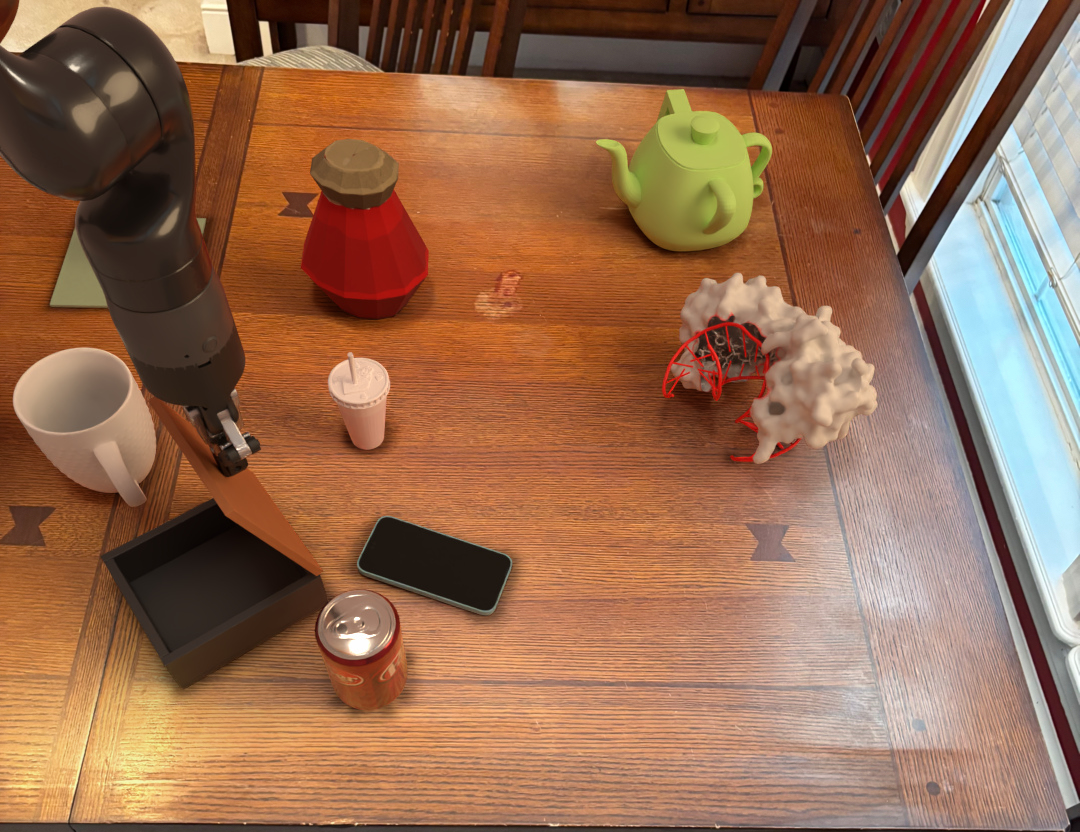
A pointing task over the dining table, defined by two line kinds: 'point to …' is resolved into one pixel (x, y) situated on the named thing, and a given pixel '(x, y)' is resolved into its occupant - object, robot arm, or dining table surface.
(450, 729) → the dining table surface
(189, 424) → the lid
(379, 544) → the smartphone
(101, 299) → the mat
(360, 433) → the smoothie
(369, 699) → the soda can
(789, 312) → the protein dna model
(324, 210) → the bottle
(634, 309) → the dining table surface
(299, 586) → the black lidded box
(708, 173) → the teapot
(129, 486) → the mug
